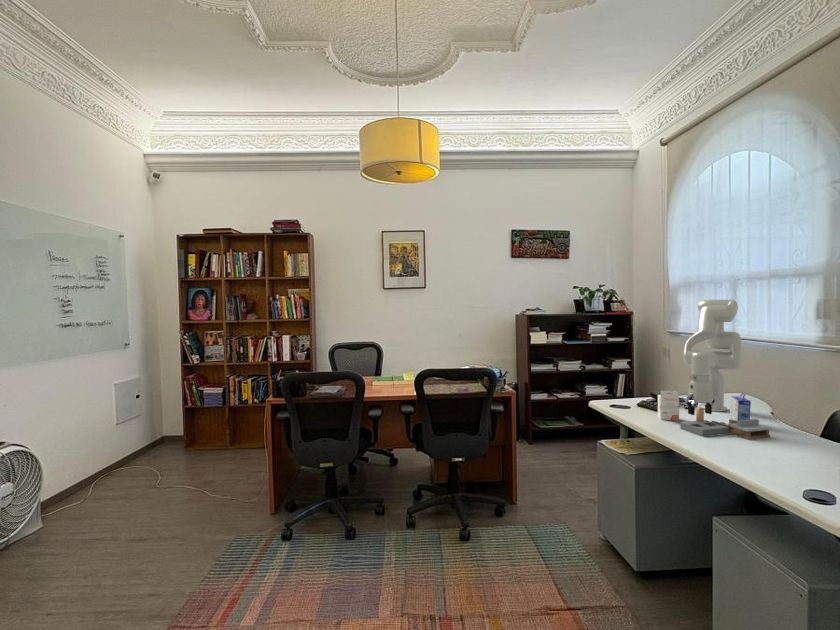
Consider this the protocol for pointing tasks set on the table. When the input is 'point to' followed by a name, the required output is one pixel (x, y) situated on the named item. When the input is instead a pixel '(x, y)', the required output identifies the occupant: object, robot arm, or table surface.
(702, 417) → the peg
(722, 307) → the robot arm
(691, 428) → the socket board
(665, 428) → the table surface
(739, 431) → the box
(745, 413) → the ink cartridge box
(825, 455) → the table surface
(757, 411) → the table surface
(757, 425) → the lid
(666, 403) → the ink cartridge box
